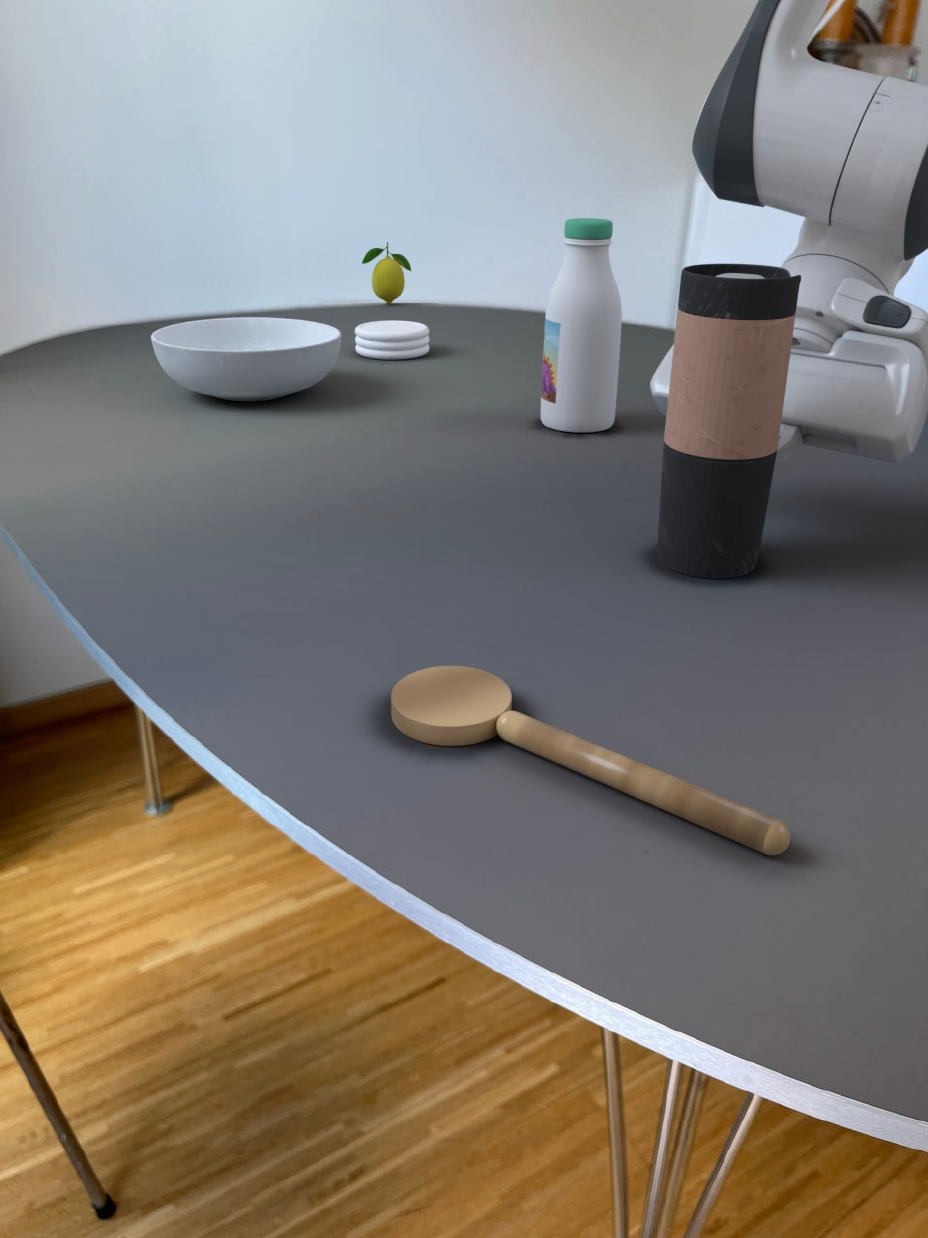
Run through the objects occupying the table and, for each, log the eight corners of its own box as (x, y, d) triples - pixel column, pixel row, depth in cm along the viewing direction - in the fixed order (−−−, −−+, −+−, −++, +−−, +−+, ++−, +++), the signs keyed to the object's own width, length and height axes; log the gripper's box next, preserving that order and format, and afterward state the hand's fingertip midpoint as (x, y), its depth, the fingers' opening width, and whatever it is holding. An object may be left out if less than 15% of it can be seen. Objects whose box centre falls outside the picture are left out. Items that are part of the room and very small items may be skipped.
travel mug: (632, 560, 75) (656, 270, 66) (688, 532, 80) (718, 259, 71) (726, 590, 70) (766, 282, 61) (779, 558, 75) (823, 270, 66)
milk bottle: (623, 419, 109) (639, 218, 100) (601, 438, 103) (615, 224, 94) (555, 411, 112) (564, 214, 103) (528, 428, 106) (536, 220, 97)
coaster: (401, 363, 133) (401, 336, 132) (340, 354, 138) (339, 327, 136) (443, 350, 141) (443, 324, 139) (384, 342, 145) (383, 317, 144)
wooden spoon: (815, 823, 47) (820, 794, 46) (753, 897, 42) (759, 866, 42) (444, 672, 59) (444, 648, 58) (366, 717, 55) (365, 691, 54)
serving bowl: (333, 416, 109) (330, 350, 106) (136, 415, 109) (127, 349, 106) (351, 372, 128) (349, 315, 125) (183, 371, 128) (176, 314, 125)
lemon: (362, 305, 174) (360, 242, 169) (376, 300, 179) (374, 239, 174) (399, 308, 172) (398, 244, 168) (412, 302, 177) (411, 241, 173)
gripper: (683, 283, 81) (607, 430, 79) (952, 315, 70) (872, 490, 67) (704, 332, 86) (633, 472, 84) (958, 370, 75) (883, 534, 72)
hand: (741, 480), depth 76 cm, fingers closed
